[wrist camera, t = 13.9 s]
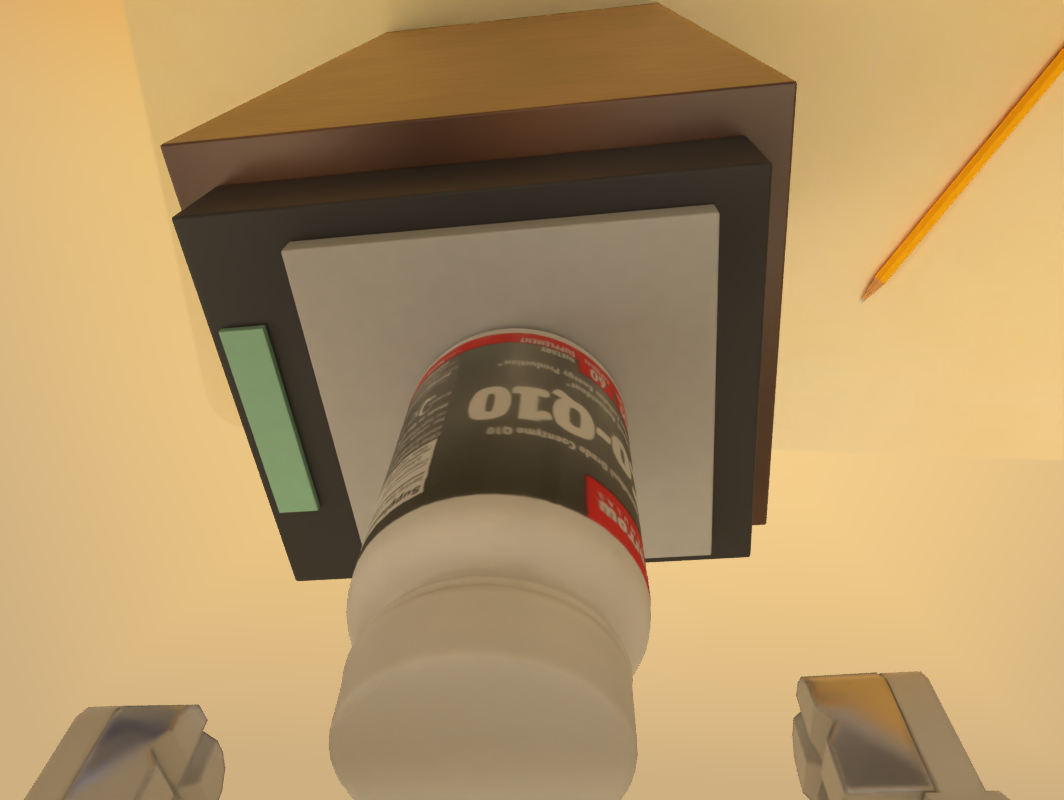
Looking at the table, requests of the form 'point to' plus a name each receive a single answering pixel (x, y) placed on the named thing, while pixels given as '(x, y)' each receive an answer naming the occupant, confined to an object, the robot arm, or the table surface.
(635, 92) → the riser
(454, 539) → the pill bottle
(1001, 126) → the pencil
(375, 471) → the scale
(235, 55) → the table surface
